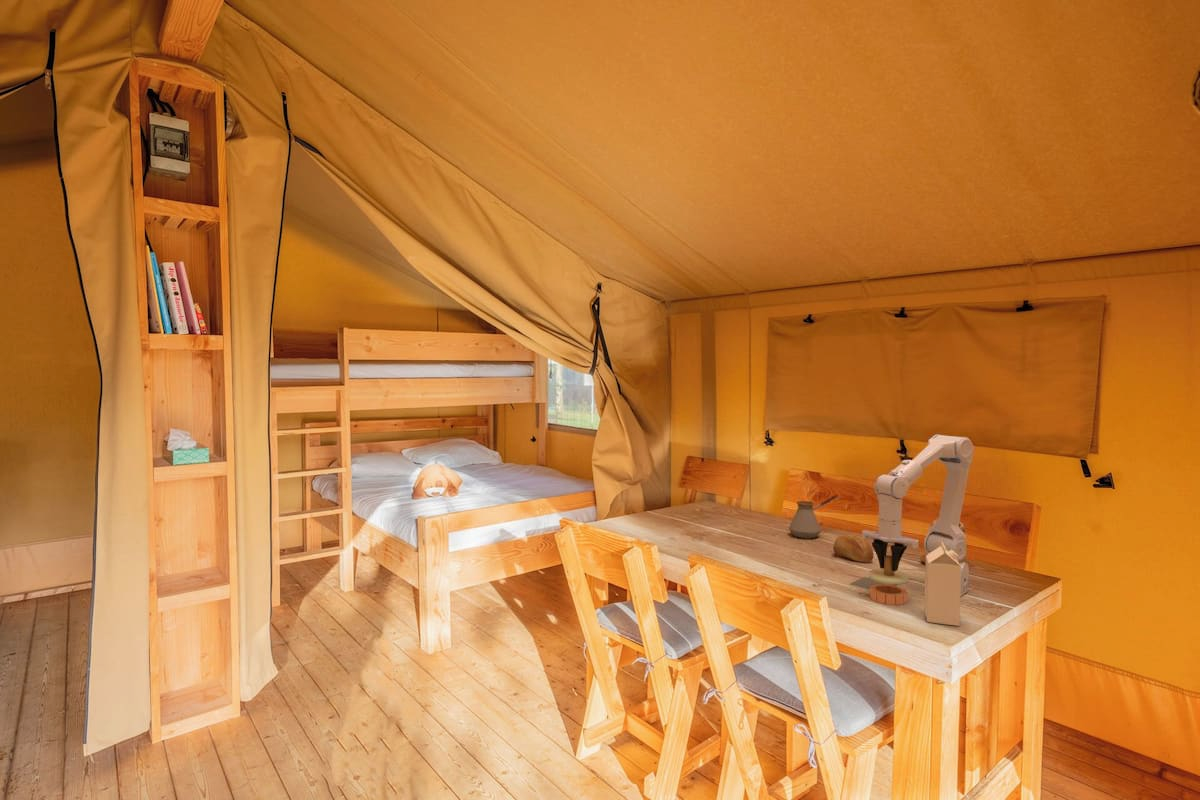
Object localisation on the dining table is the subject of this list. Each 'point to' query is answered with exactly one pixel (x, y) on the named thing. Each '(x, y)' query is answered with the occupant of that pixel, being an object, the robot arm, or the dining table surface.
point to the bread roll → (853, 548)
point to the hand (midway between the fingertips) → (888, 569)
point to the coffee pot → (806, 520)
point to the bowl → (888, 594)
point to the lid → (888, 573)
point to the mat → (866, 583)
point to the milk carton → (942, 587)
